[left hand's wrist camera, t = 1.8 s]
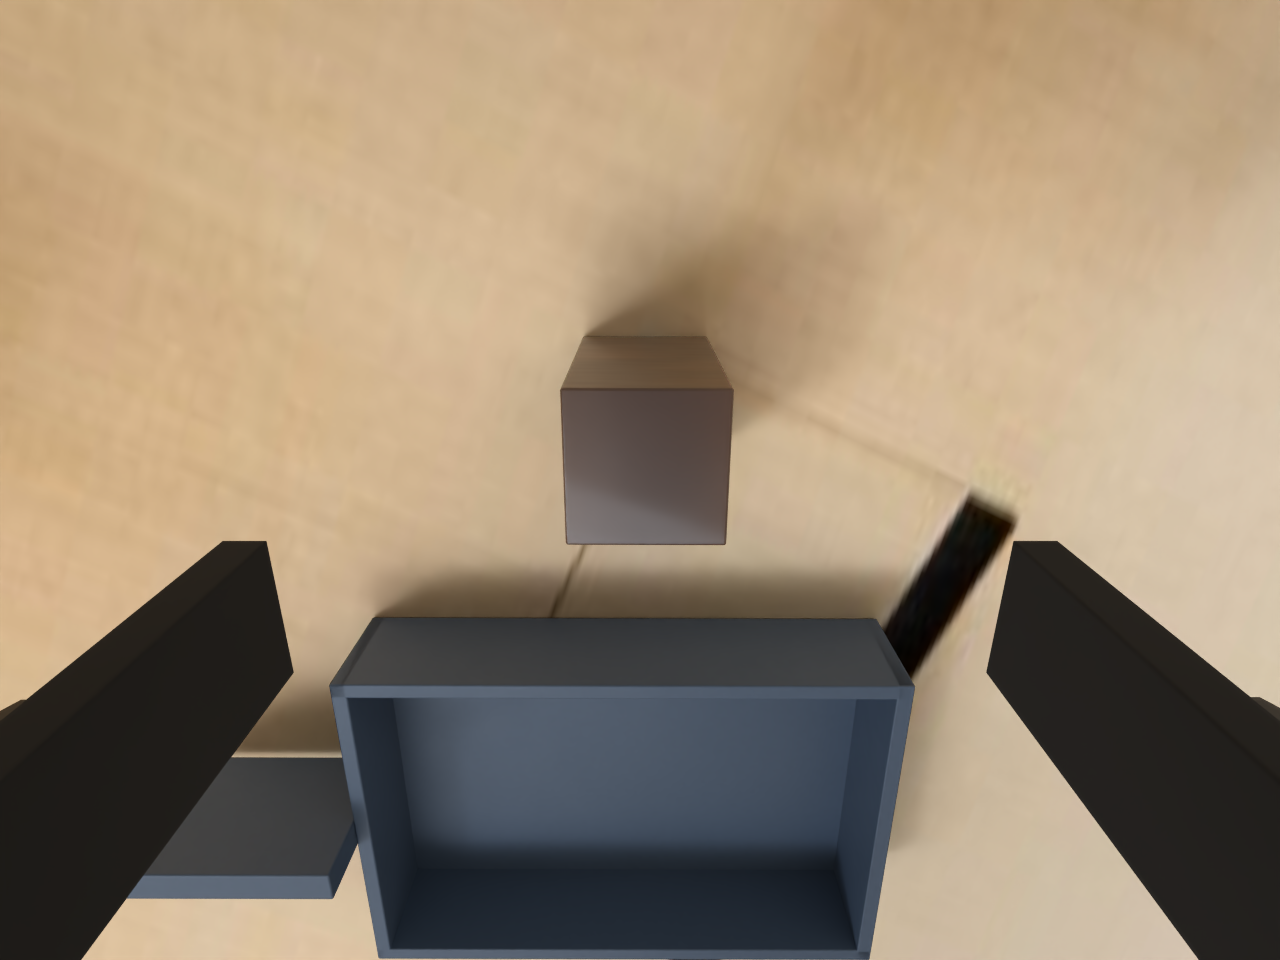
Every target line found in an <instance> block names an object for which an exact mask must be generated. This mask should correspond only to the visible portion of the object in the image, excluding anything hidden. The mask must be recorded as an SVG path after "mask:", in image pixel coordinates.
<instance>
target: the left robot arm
mask: <svg viewBox="0 0 1280 960" xmlns="http://www.w3.org/2000/svg"><path fill="white" fill-rule="evenodd" d="M293 673H294V672H293V667H292V662H291V657H290V653H289V648H288V643H287V638H286V633H285V628H284V624H283V619H282V614H281V609H280V604H279V600H278V595H277V590H276V585H275V580H274V575H273V571H272V566H271V561H270V556H269V551H268V547H267V542H266V541H222V542H221V543H220V544H219V545H217V546H216V547H215V548H214V549H212V550H211V551H210V552H209V553H207V554H206V555H205V556H204V557H203V558H201V559H200V560H199V561H198V562H196V563H195V564H194V565H193V566H191V567H190V568H189V569H188V570H186V571H185V572H184V573H183V574H181V575H180V576H179V577H178V578H177V579H175V580H174V581H173V582H172V583H170V584H169V585H168V586H167V587H165V588H164V589H163V590H162V591H160V592H159V593H158V594H157V595H155V596H154V597H153V598H152V599H151V600H149V601H148V602H147V603H146V604H144V605H143V606H142V607H141V608H139V609H138V610H137V611H136V612H134V613H133V614H132V615H131V616H129V617H128V618H127V619H126V620H125V621H123V622H122V623H121V624H120V625H118V626H117V627H116V628H115V629H113V630H112V631H111V632H110V633H108V634H107V635H106V636H105V637H103V638H102V639H101V640H100V641H99V642H97V643H96V644H95V645H94V646H92V647H91V648H90V649H89V650H87V651H86V652H85V653H84V654H82V655H81V656H80V657H79V658H77V659H76V660H75V661H74V662H73V663H71V664H70V665H69V666H68V667H66V668H65V669H64V670H63V671H61V672H60V673H59V674H58V675H56V676H55V677H54V678H53V679H51V680H50V681H49V682H48V683H47V684H45V685H44V686H43V687H42V688H40V689H39V690H38V691H37V692H35V693H34V694H33V695H32V696H30V697H29V698H28V699H27V700H20V701H18V702H16V703H14V704H12V705H11V706H9V707H7V708H5V709H3V710H1V711H0V960H81V959H82V958H83V957H84V955H85V954H86V953H87V951H88V950H89V949H90V947H91V946H92V944H93V943H94V942H95V940H96V939H97V938H98V936H99V935H100V934H101V932H102V931H103V930H104V928H105V927H106V926H107V924H108V923H109V921H110V920H111V919H112V917H113V916H114V915H115V913H116V912H117V911H118V909H119V908H120V907H121V905H122V904H123V903H124V901H125V900H126V898H127V897H128V896H129V894H130V893H131V892H132V890H133V889H134V888H135V886H136V885H137V884H138V882H139V881H140V880H141V878H142V877H143V875H144V874H145V873H146V871H147V870H148V869H149V867H150V866H151V865H152V863H153V862H154V861H155V859H156V858H157V857H158V855H159V854H160V853H161V851H162V850H163V848H164V847H165V846H166V844H167V843H168V842H169V840H170V839H171V838H172V836H173V835H174V834H175V832H176V831H177V830H178V828H179V827H180V825H181V824H182V823H183V821H184V820H185V819H186V817H187V816H188V815H189V813H190V812H191V811H192V809H193V808H194V807H195V805H196V804H197V802H198V801H199V800H200V798H201V797H202V796H203V794H204V793H205V792H206V790H207V789H208V788H209V786H210V785H211V784H212V782H213V781H214V779H215V778H216V777H217V775H218V774H219V773H220V771H221V770H222V769H223V767H224V766H225V765H226V763H227V762H228V761H229V759H230V758H231V756H232V755H233V754H234V752H235V751H236V750H237V748H238V747H239V746H240V744H241V743H242V742H243V740H244V739H245V738H246V736H247V735H248V734H249V732H250V731H251V729H252V728H253V727H254V725H255V724H256V723H257V721H258V720H259V719H260V717H261V716H262V715H263V713H264V712H265V711H266V709H267V708H268V706H269V705H270V704H271V702H272V701H273V700H274V698H275V697H276V696H277V694H278V693H279V692H280V690H281V689H282V688H283V686H284V685H285V683H286V682H287V681H288V679H289V678H290V677H291V675H292V674H293ZM986 673H987V674H988V675H989V677H990V678H991V679H992V681H993V682H994V683H995V685H996V686H997V688H998V689H999V690H1000V692H1001V693H1002V694H1003V696H1004V697H1005V698H1006V700H1007V701H1008V702H1009V704H1010V705H1011V706H1012V708H1013V709H1014V711H1015V712H1016V713H1017V715H1018V716H1019V717H1020V719H1021V720H1022V721H1023V723H1024V724H1025V725H1026V727H1027V728H1028V729H1029V731H1030V732H1031V734H1032V735H1033V736H1034V738H1035V739H1036V740H1037V742H1038V743H1039V744H1040V746H1041V747H1042V748H1043V750H1044V751H1045V752H1046V754H1047V755H1048V756H1049V758H1050V759H1051V761H1052V762H1053V763H1054V765H1055V766H1056V767H1057V769H1058V770H1059V771H1060V773H1061V774H1062V775H1063V777H1064V778H1065V779H1066V781H1067V782H1068V784H1069V785H1070V786H1071V788H1072V789H1073V790H1074V792H1075V793H1076V794H1077V796H1078V797H1079V798H1080V800H1081V801H1082V802H1083V804H1084V805H1085V807H1086V808H1087V809H1088V811H1089V812H1090V813H1091V815H1092V816H1093V817H1094V819H1095V820H1096V821H1097V823H1098V824H1099V825H1100V827H1101V828H1102V830H1103V831H1104V832H1105V834H1106V835H1107V836H1108V838H1109V839H1110V840H1111V842H1112V843H1113V844H1114V846H1115V847H1116V848H1117V850H1118V851H1119V853H1120V854H1121V855H1122V857H1123V858H1124V859H1125V861H1126V862H1127V863H1128V865H1129V866H1130V867H1131V869H1132V870H1133V871H1134V873H1135V874H1136V875H1137V877H1138V878H1139V880H1140V881H1141V882H1142V884H1143V885H1144V886H1145V888H1146V889H1147V890H1148V892H1149V893H1150V894H1151V896H1152V897H1153V898H1154V900H1155V901H1156V903H1157V904H1158V905H1159V907H1160V908H1161V909H1162V911H1163V912H1164V913H1165V915H1166V916H1167V917H1168V919H1169V920H1170V921H1171V923H1172V924H1173V926H1174V927H1175V928H1176V930H1177V931H1178V932H1179V934H1180V935H1181V936H1182V938H1183V939H1184V940H1185V942H1186V943H1187V944H1188V946H1189V947H1190V949H1191V950H1192V951H1193V953H1194V954H1195V955H1196V957H1197V958H1198V959H1199V960H1280V708H1279V707H1277V706H1275V705H1273V704H1271V703H1270V702H1268V701H1266V700H1264V699H1262V698H1260V697H1250V696H1248V695H1247V694H1246V693H1245V692H1243V691H1242V690H1241V689H1240V688H1238V687H1237V686H1236V685H1235V684H1233V683H1232V682H1231V681H1230V680H1229V679H1227V678H1226V677H1225V676H1224V675H1222V674H1221V673H1220V672H1219V671H1217V670H1216V669H1215V668H1214V667H1212V666H1211V665H1210V664H1209V663H1207V662H1206V661H1205V660H1204V659H1203V658H1201V657H1200V656H1199V655H1198V654H1196V653H1195V652H1194V651H1193V650H1191V649H1190V648H1189V647H1188V646H1186V645H1185V644H1184V643H1183V642H1181V641H1180V640H1179V639H1178V638H1177V637H1175V636H1174V635H1173V634H1172V633H1170V632H1169V631H1168V630H1167V629H1165V628H1164V627H1163V626H1162V625H1160V624H1159V623H1158V622H1157V621H1155V620H1154V619H1153V618H1152V617H1151V616H1149V615H1148V614H1147V613H1146V612H1144V611H1143V610H1142V609H1141V608H1139V607H1138V606H1137V605H1136V604H1134V603H1133V602H1132V601H1131V600H1129V599H1128V598H1127V597H1126V596H1125V595H1123V594H1122V593H1121V592H1120V591H1118V590H1117V589H1116V588H1115V587H1113V586H1112V585H1111V584H1110V583H1108V582H1107V581H1106V580H1105V579H1103V578H1102V577H1101V576H1100V575H1099V574H1097V573H1096V572H1095V571H1094V570H1092V569H1091V568H1090V567H1089V566H1087V565H1086V564H1085V563H1084V562H1082V561H1081V560H1080V559H1079V558H1077V557H1076V556H1075V555H1074V554H1073V553H1071V552H1070V551H1069V550H1068V549H1066V548H1065V547H1064V546H1063V545H1061V544H1060V543H1059V542H1058V541H1014V542H1013V547H1012V551H1011V556H1010V561H1009V566H1008V571H1007V575H1006V580H1005V585H1004V590H1003V595H1002V600H1001V604H1000V609H999V614H998V619H997V624H996V628H995V633H994V638H993V643H992V648H991V653H990V657H989V662H988V667H987V672H986Z"/></svg>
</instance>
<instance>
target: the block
mask: <svg viewBox="0 0 1280 960" xmlns="http://www.w3.org/2000/svg"><path fill="white" fill-rule="evenodd" d="M560 396H561V423H562V450H563V476H564V503H565V530H566V543H567V544H575V545H725V544H726V534H727V514H728V494H729V474H730V455H731V435H732V415H733V396H734V390H733V388H732V386H731V384H730V382H729V380H728V378H727V376H726V374H725V372H724V370H723V368H722V366H721V364H720V362H719V360H718V358H717V356H716V355H715V353H714V351H713V349H712V347H711V345H710V343H709V341H708V339H707V337H609V336H585V337H583V339H582V342H581V344H580V346H579V348H578V351H577V353H576V355H575V358H574V360H573V362H572V364H571V367H570V369H569V371H568V374H567V376H566V378H565V380H564V383H563V385H562V387H561V390H560Z"/></svg>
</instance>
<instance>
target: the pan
mask: <svg viewBox="0 0 1280 960" xmlns="http://www.w3.org/2000/svg"><path fill="white" fill-rule="evenodd" d="M329 687H330V692H331V698H332V703H333V709H334V714H335V720H336V725H337V731H338V736H339V742H340V747H341V753H342V758H244V757H231V758H230V759H229V761H228V762H227V763H226V765H225V766H224V767H223V769H222V770H221V771H220V773H219V774H218V775H217V777H216V778H215V779H214V781H213V782H212V784H211V785H210V786H209V788H208V789H207V790H206V792H205V793H204V794H203V796H202V797H201V798H200V800H199V801H198V802H197V804H196V805H195V807H194V808H193V809H192V811H191V812H190V813H189V815H188V816H187V817H186V819H185V820H184V821H183V823H182V824H181V825H180V827H179V828H178V830H177V831H176V832H175V834H174V835H173V836H172V838H171V839H170V840H169V842H168V843H167V844H166V846H165V847H164V848H163V850H162V851H161V853H160V854H159V855H158V857H157V858H156V859H155V861H154V862H153V863H152V865H151V866H150V867H149V869H148V870H147V871H146V873H145V874H144V875H143V877H142V878H141V880H140V881H139V882H138V884H137V885H136V886H135V888H134V889H133V890H132V892H131V893H130V894H129V896H128V897H127V898H141V899H333V898H334V896H335V893H336V891H337V889H338V887H339V884H340V882H341V880H342V878H343V875H344V873H345V871H346V869H347V866H348V864H349V862H350V860H351V857H352V855H353V853H354V851H355V848H356V846H357V844H358V846H359V852H360V857H361V863H362V868H363V874H364V879H365V885H366V890H367V896H368V901H369V907H370V912H371V918H372V923H373V929H374V934H375V940H376V945H377V951H378V957H379V958H403V959H799V960H869V958H870V952H871V946H872V940H873V934H874V928H875V922H876V916H877V910H878V904H879V898H880V892H881V886H882V881H883V875H884V869H885V863H886V857H887V851H888V845H889V839H890V833H891V827H892V821H893V815H894V809H895V803H896V797H897V791H898V785H899V779H900V773H901V767H902V761H903V755H904V749H905V744H906V738H907V732H908V726H909V720H910V714H911V708H912V702H913V696H914V690H915V686H914V684H913V682H912V681H911V679H910V677H909V675H908V674H907V672H906V670H905V668H904V667H903V665H902V663H901V661H900V660H899V658H898V656H897V654H896V653H895V651H894V649H893V647H892V646H891V644H890V642H889V640H888V639H887V637H886V635H885V633H884V632H883V630H882V628H881V626H880V625H879V623H878V621H877V620H876V619H673V618H373V619H372V620H371V622H370V623H369V625H368V626H367V628H366V629H365V631H364V632H363V634H362V636H361V637H360V639H359V640H358V642H357V643H356V645H355V646H354V648H353V649H352V651H351V652H350V654H349V656H348V657H347V659H346V660H345V662H344V663H343V665H342V666H341V668H340V669H339V671H338V672H337V674H336V676H335V677H334V679H333V680H332V682H331V683H330V685H329Z"/></svg>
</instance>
